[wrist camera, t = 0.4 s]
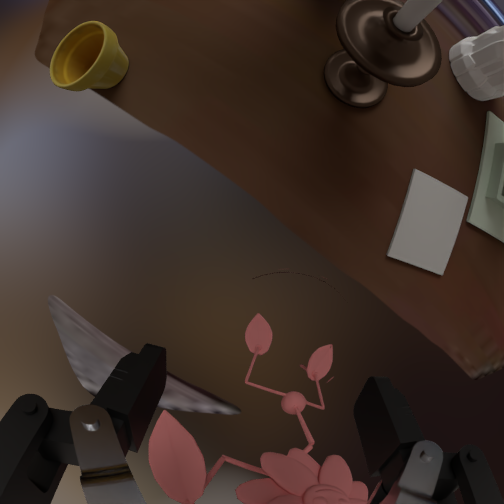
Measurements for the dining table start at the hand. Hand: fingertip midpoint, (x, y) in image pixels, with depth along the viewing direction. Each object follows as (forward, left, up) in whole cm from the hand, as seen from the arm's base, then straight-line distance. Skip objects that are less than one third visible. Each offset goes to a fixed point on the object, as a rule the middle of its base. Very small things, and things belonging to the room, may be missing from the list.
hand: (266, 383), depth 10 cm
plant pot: (-19, -31, -29) cm, 46 cm away
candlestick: (-25, +5, -29) cm, 38 cm away
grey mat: (-9, +22, -29) cm, 37 cm away
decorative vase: (-38, +25, -29) cm, 54 cm away
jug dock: (-22, +36, -29) cm, 51 cm away
